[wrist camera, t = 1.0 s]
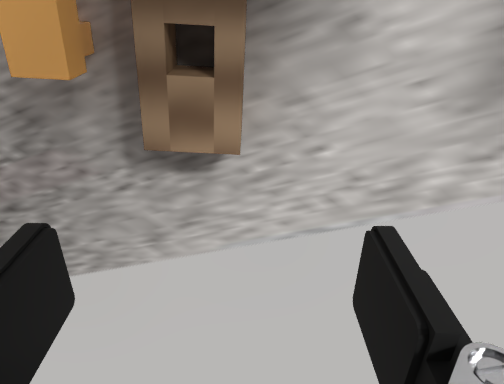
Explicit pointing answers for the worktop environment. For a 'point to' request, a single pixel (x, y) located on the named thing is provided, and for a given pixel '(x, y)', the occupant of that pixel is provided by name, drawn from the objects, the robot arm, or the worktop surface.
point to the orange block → (44, 38)
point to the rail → (190, 76)
